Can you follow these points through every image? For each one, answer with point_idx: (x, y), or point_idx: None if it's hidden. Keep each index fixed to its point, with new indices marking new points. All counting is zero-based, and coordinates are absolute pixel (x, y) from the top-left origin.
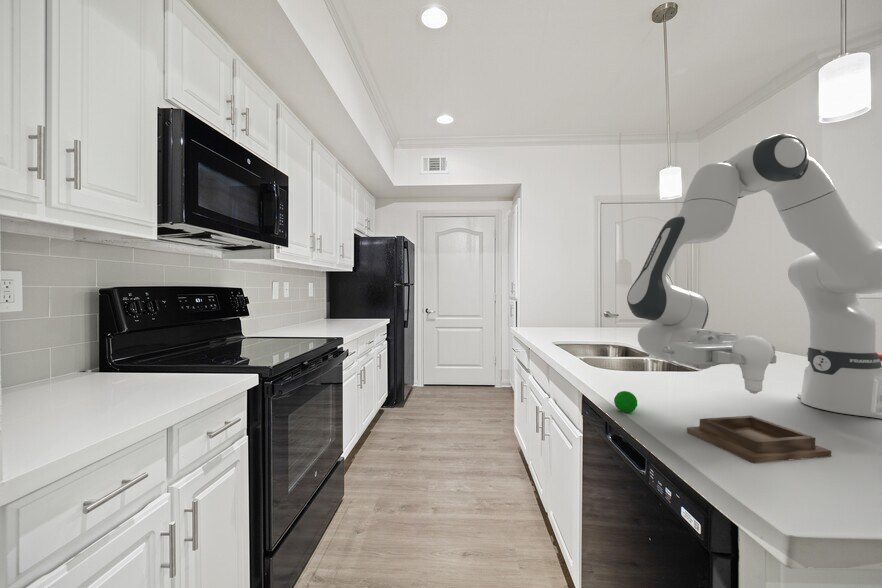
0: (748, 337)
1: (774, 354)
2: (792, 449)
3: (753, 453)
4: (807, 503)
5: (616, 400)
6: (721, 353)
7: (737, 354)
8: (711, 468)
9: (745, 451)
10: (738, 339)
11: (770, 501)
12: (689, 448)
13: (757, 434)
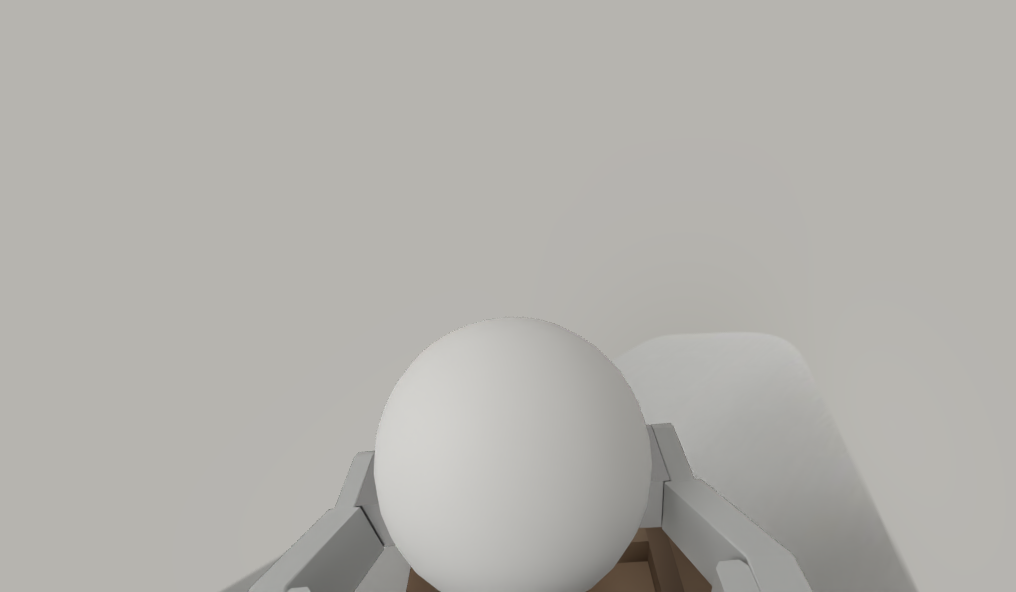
0: (554, 340)
1: (358, 455)
2: None
3: (672, 545)
4: (696, 381)
5: None
6: (762, 533)
7: (651, 454)
8: (843, 511)
9: (690, 562)
10: (595, 414)
11: (763, 386)
12: None
13: None
